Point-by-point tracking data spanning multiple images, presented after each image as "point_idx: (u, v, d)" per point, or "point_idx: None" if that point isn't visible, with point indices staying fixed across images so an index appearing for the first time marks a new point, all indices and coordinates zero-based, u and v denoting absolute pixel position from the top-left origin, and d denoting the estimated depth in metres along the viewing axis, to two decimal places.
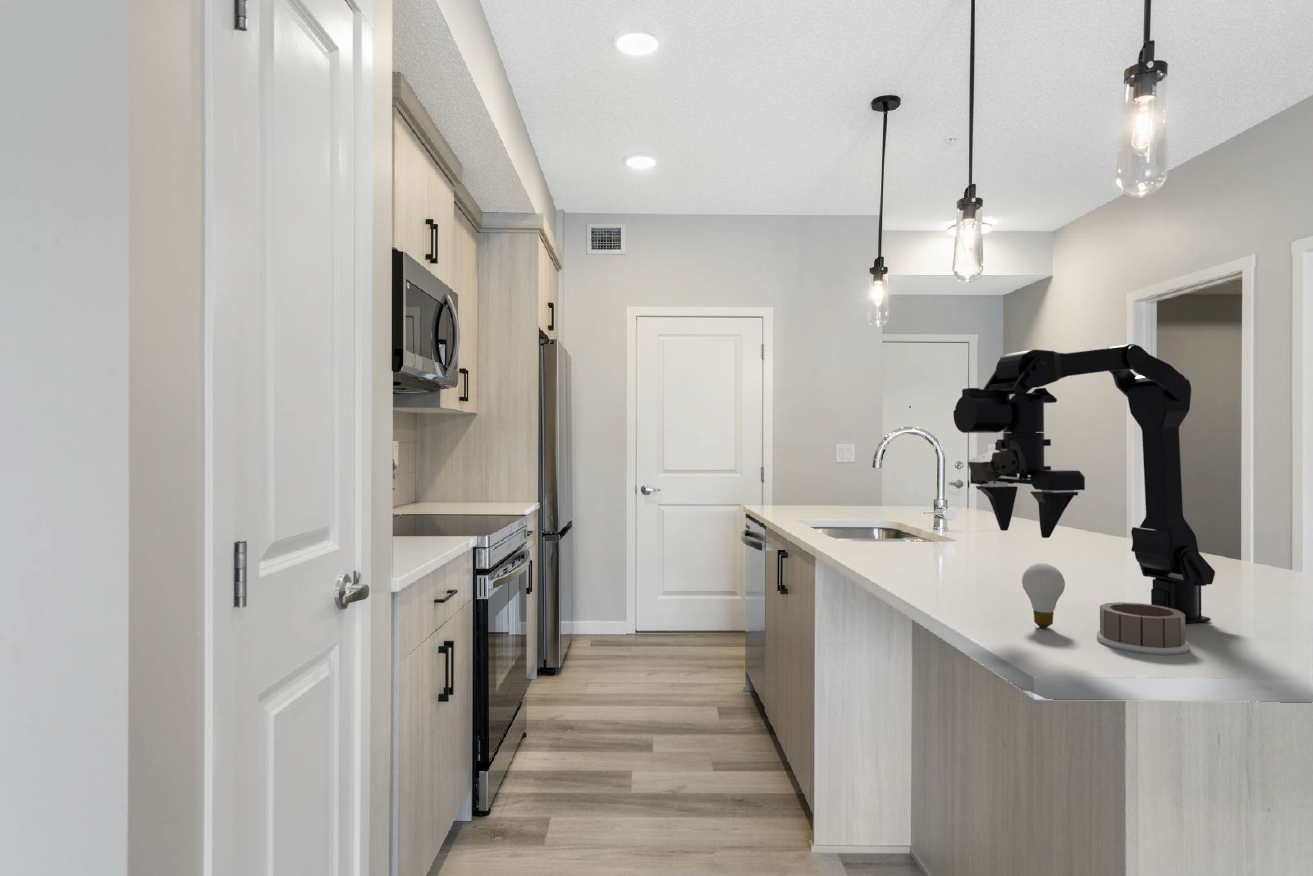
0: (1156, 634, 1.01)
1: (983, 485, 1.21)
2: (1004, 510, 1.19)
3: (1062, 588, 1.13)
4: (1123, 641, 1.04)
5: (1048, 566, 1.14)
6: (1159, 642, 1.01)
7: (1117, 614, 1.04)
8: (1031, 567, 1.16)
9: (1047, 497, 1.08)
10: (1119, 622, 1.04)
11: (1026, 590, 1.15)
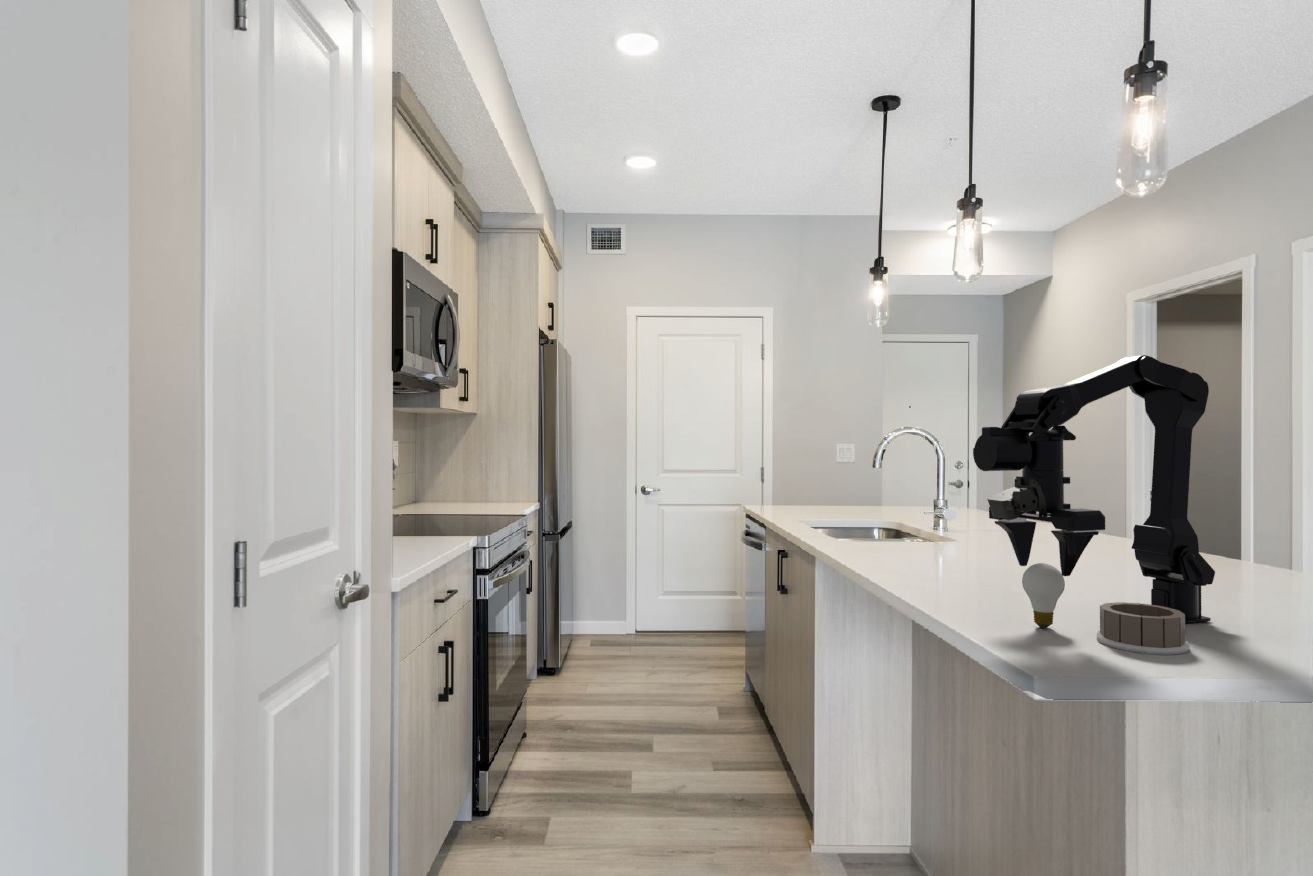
0: (1156, 634, 1.01)
1: (1002, 520, 1.22)
2: (1023, 546, 1.20)
3: (1062, 588, 1.13)
4: (1123, 641, 1.04)
5: (1048, 566, 1.14)
6: (1159, 642, 1.01)
7: (1117, 614, 1.04)
8: (1031, 567, 1.16)
9: (1068, 536, 1.09)
10: (1119, 622, 1.04)
11: (1026, 590, 1.15)
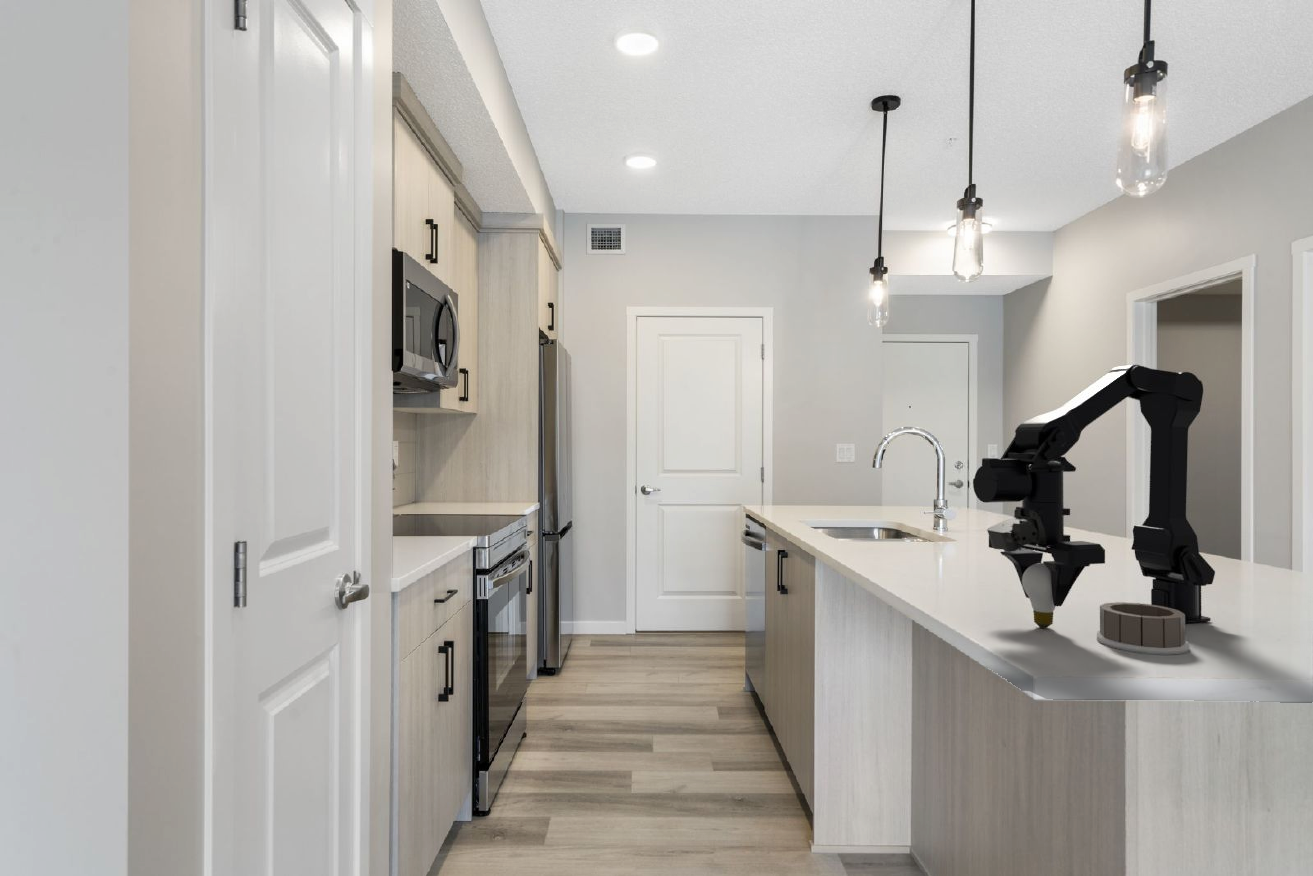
0: (1156, 634, 1.01)
1: (1008, 551, 1.20)
2: None
3: None
4: (1123, 641, 1.04)
5: None
6: (1159, 642, 1.01)
7: (1117, 614, 1.04)
8: (1031, 567, 1.16)
9: (1059, 567, 1.10)
10: (1119, 622, 1.04)
11: (1026, 590, 1.15)
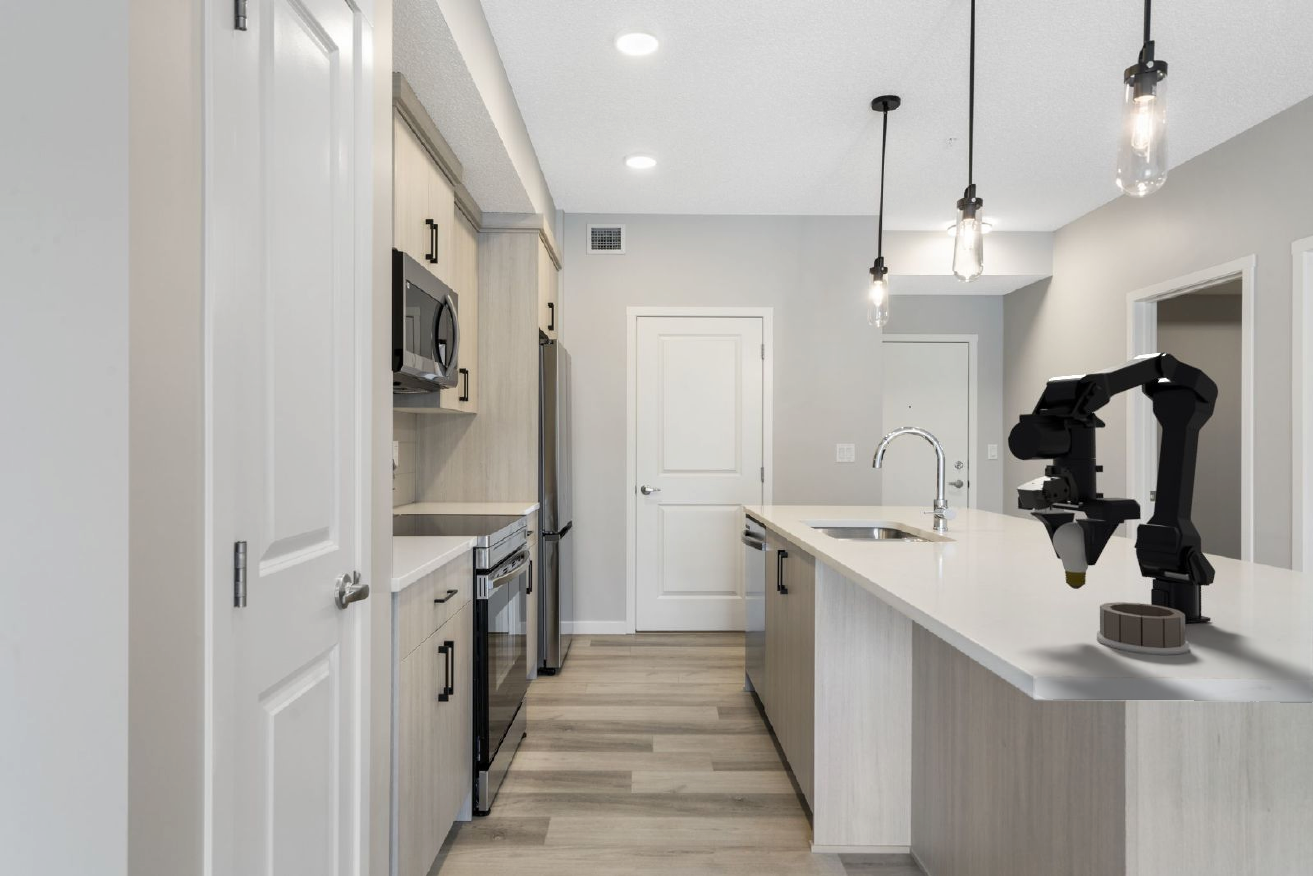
0: (1156, 634, 1.01)
1: (1038, 511, 1.17)
2: None
3: None
4: (1123, 641, 1.04)
5: None
6: (1159, 642, 1.01)
7: (1117, 614, 1.04)
8: (1062, 526, 1.13)
9: (1093, 525, 1.07)
10: (1119, 622, 1.04)
11: (1057, 550, 1.12)
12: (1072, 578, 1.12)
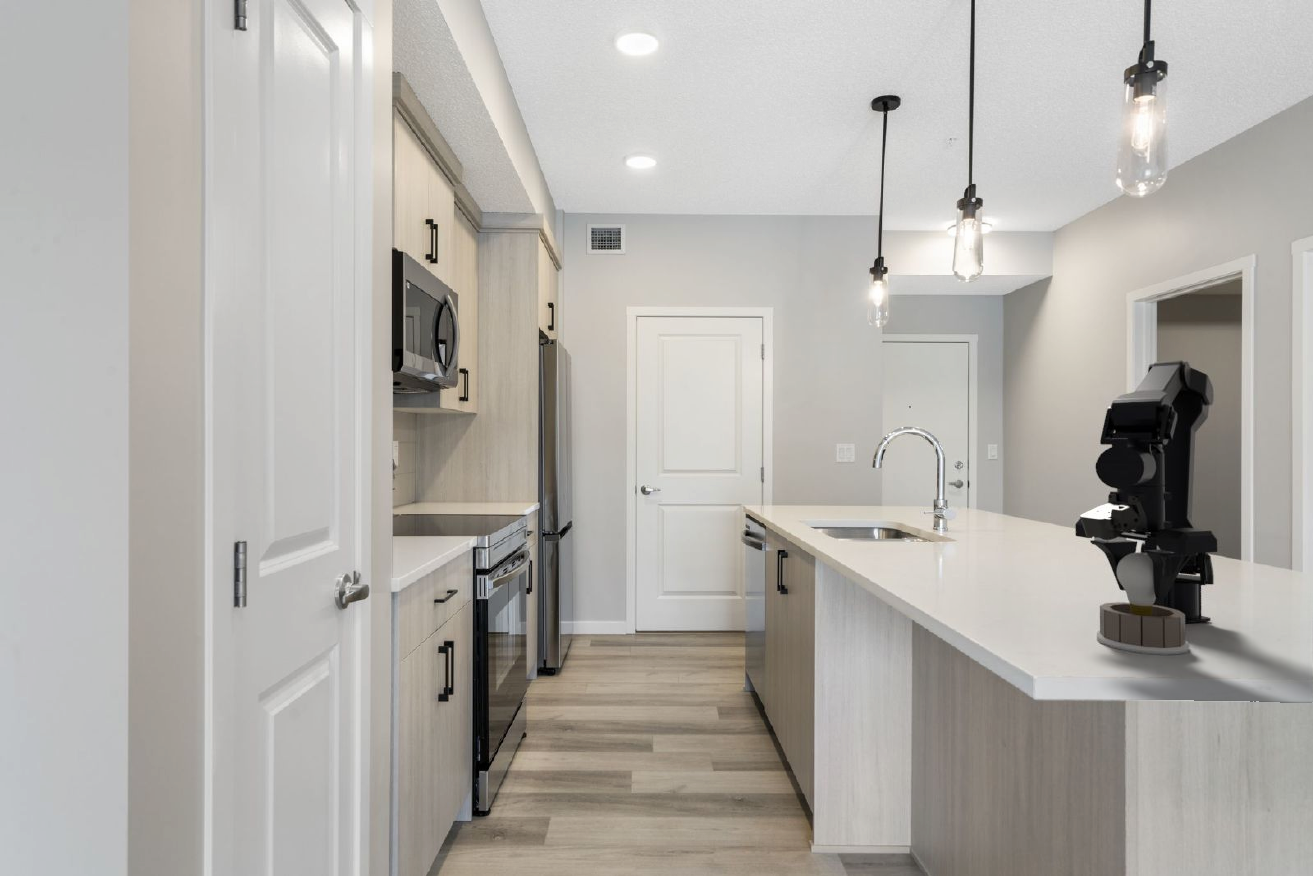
0: (1156, 634, 1.01)
1: (1099, 540, 1.11)
2: None
3: None
4: (1123, 641, 1.04)
5: (1147, 555, 1.05)
6: (1159, 642, 1.01)
7: (1117, 614, 1.04)
8: (1128, 557, 1.06)
9: (1164, 557, 1.01)
10: (1119, 622, 1.04)
11: (1122, 582, 1.06)
12: (1138, 612, 1.05)
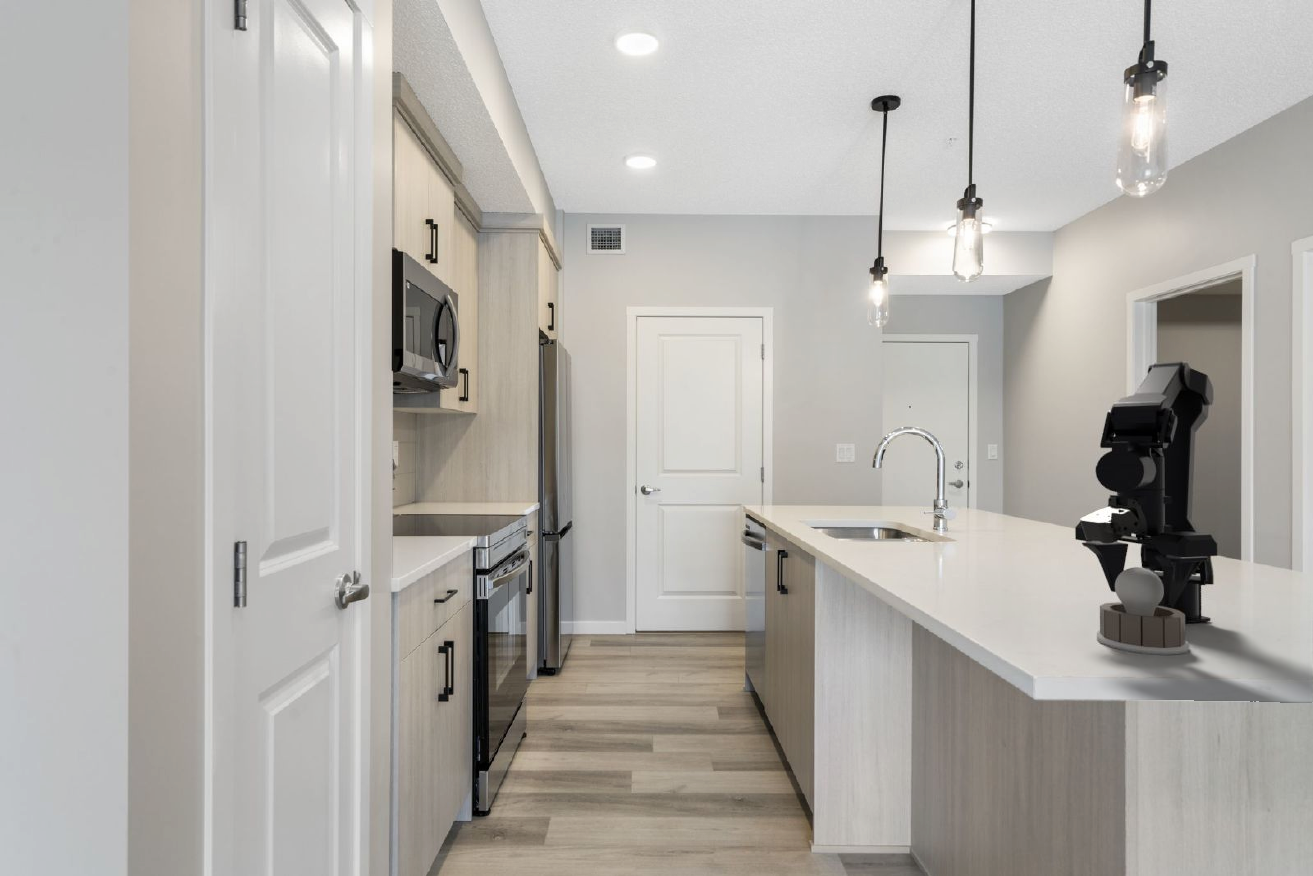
0: (1156, 634, 1.01)
1: (1091, 542, 1.12)
2: (1115, 570, 1.11)
3: (1162, 594, 1.04)
4: (1123, 641, 1.04)
5: (1145, 570, 1.05)
6: (1159, 642, 1.01)
7: (1117, 614, 1.04)
8: (1126, 572, 1.07)
9: (1174, 562, 1.00)
10: (1119, 622, 1.04)
11: (1120, 597, 1.06)
12: None
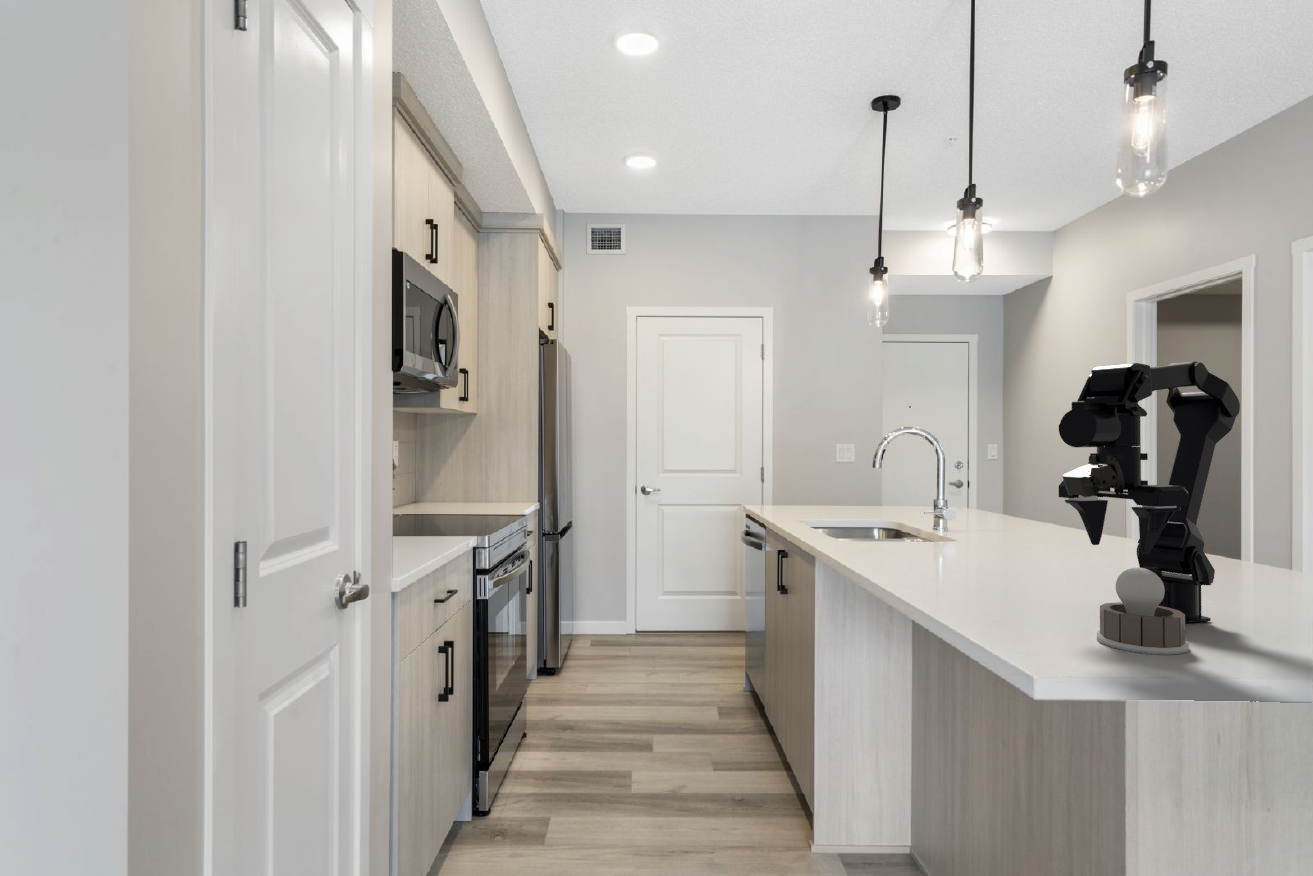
0: (1156, 634, 1.01)
1: (1073, 499, 1.20)
2: (1095, 524, 1.18)
3: (1162, 595, 1.04)
4: (1123, 641, 1.04)
5: (1146, 571, 1.05)
6: (1159, 642, 1.01)
7: (1117, 614, 1.04)
8: (1127, 572, 1.06)
9: (1149, 513, 1.07)
10: (1119, 622, 1.04)
11: (1121, 597, 1.06)
12: None
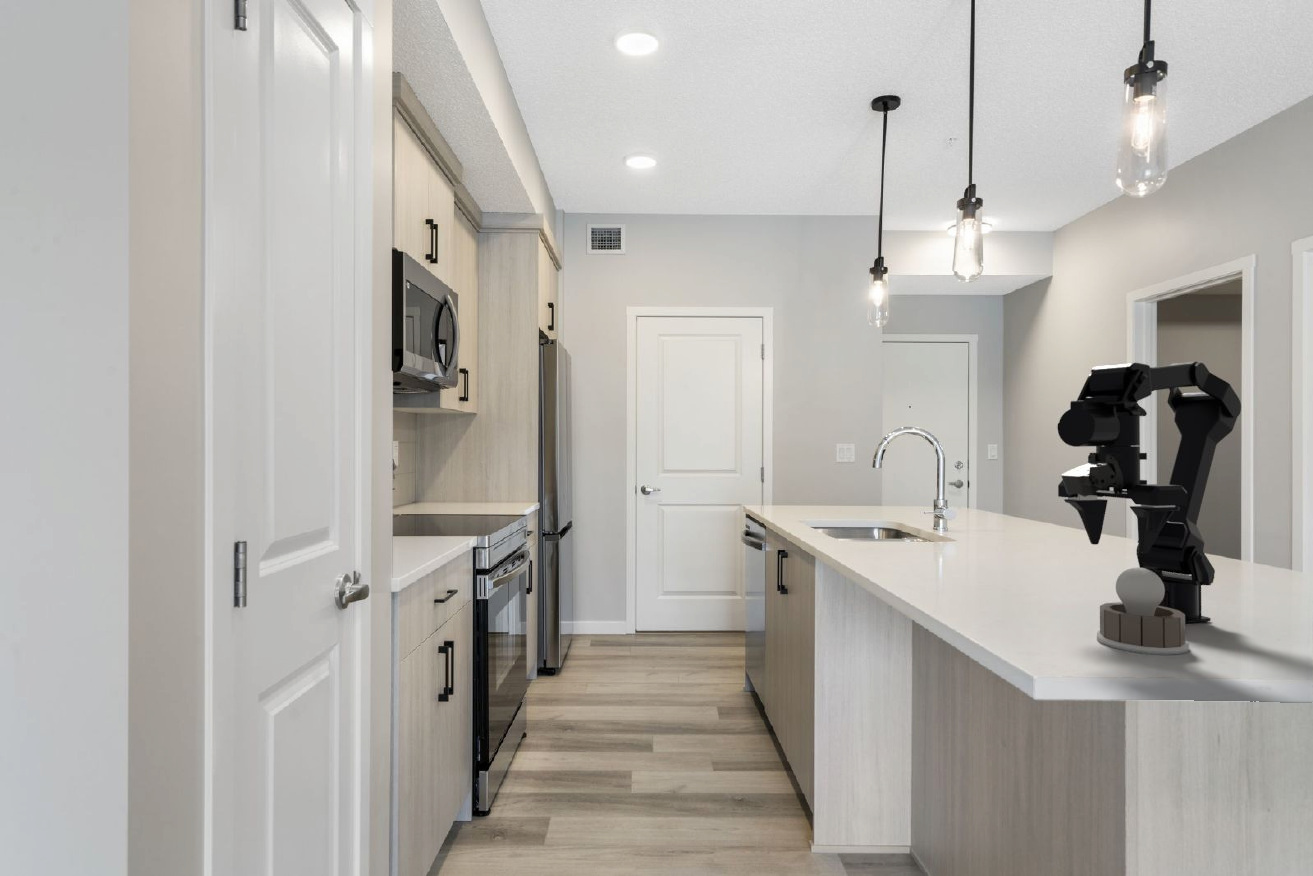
0: (1156, 634, 1.01)
1: (1072, 498, 1.20)
2: (1095, 524, 1.18)
3: (1162, 595, 1.04)
4: (1123, 641, 1.04)
5: (1146, 571, 1.05)
6: (1159, 642, 1.01)
7: (1117, 614, 1.04)
8: (1127, 572, 1.06)
9: (1148, 512, 1.07)
10: (1119, 622, 1.04)
11: (1121, 597, 1.06)
12: None
